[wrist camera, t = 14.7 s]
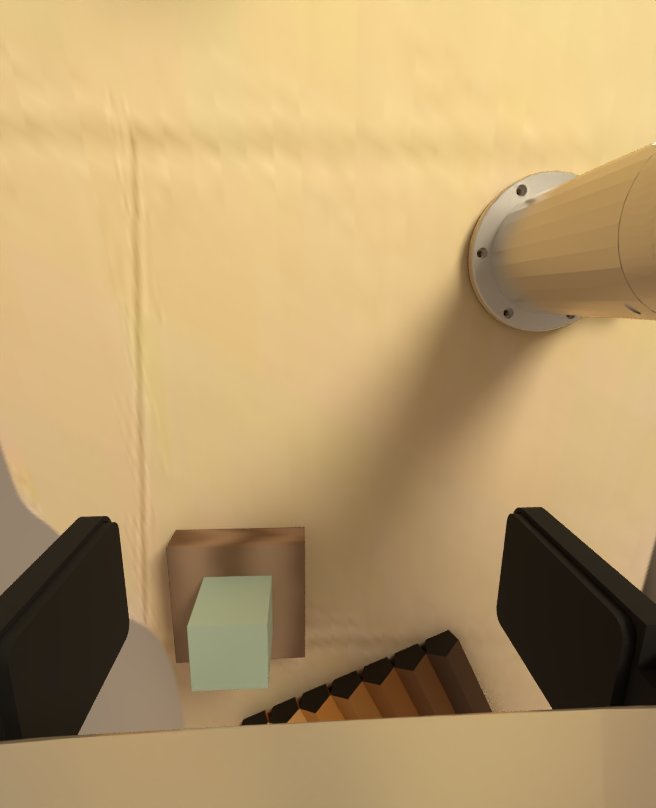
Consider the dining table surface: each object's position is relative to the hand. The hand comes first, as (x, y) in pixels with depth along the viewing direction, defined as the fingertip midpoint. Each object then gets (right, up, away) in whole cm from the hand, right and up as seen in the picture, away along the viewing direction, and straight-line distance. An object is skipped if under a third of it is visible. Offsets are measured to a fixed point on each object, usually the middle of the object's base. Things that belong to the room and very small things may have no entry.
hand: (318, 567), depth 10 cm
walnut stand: (-8, -14, +32) cm, 36 cm away
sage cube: (-8, -15, +29) cm, 33 cm away
